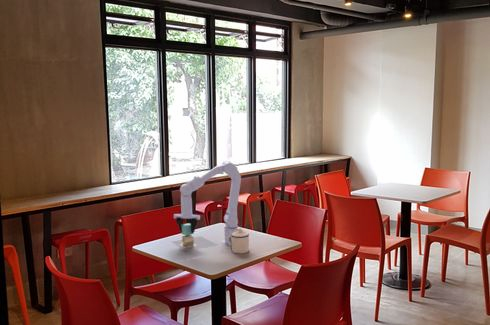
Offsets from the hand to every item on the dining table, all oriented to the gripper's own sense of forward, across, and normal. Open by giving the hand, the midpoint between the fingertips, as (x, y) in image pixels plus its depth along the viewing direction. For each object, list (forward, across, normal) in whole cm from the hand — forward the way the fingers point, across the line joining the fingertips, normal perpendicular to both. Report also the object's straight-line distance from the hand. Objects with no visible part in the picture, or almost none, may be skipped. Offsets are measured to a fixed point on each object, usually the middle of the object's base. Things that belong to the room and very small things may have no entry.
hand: (187, 232), depth 244 cm
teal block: (+1, 0, 0) cm, 1 cm away
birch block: (+7, 0, 0) cm, 7 cm away
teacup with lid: (+8, -28, 0) cm, 29 cm away
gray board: (+8, -2, -4) cm, 9 cm away
